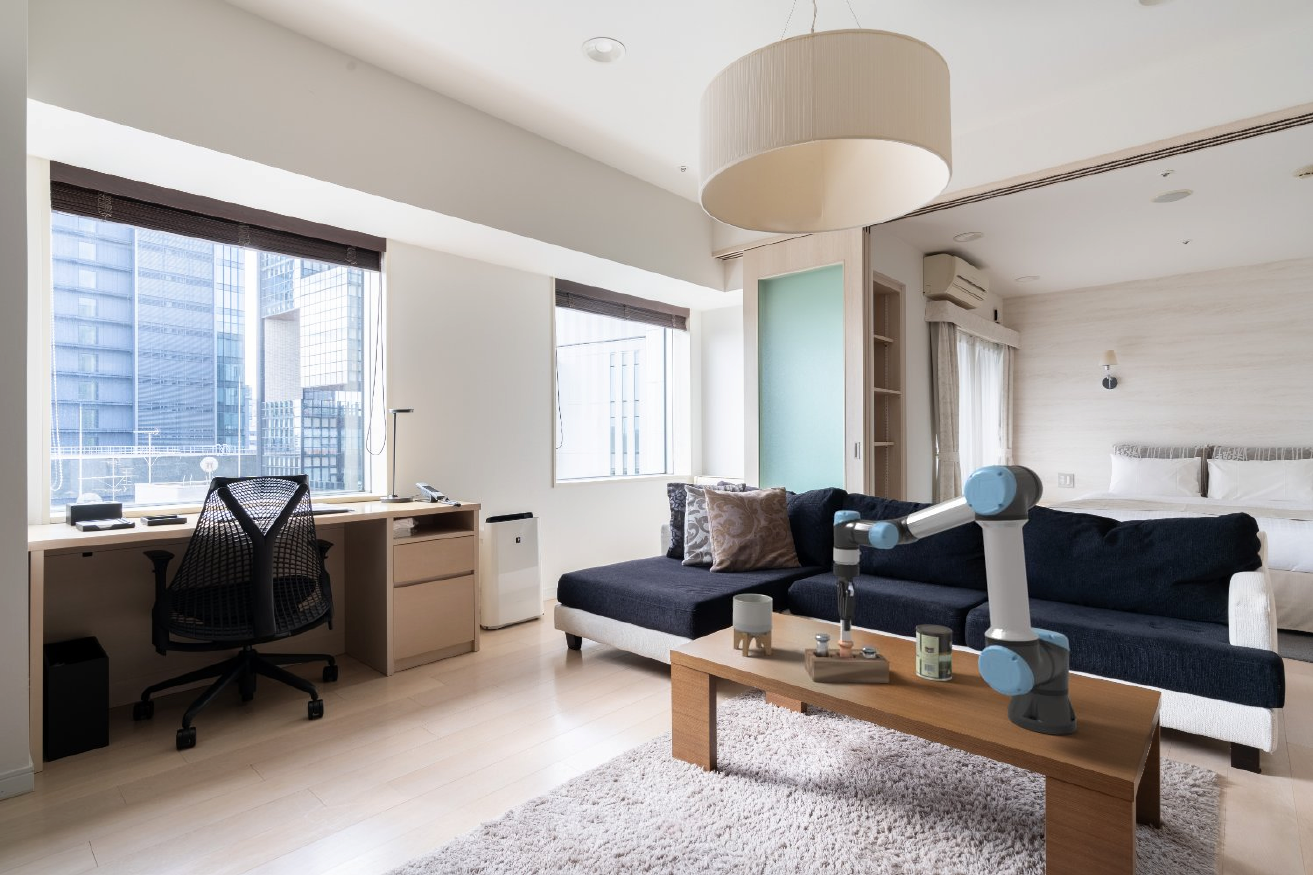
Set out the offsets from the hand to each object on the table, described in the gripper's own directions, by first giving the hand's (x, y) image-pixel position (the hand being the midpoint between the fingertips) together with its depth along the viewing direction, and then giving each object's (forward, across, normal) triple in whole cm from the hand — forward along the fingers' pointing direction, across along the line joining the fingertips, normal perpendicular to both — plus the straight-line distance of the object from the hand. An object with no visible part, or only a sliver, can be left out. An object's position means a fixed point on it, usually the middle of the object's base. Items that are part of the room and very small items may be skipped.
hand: (845, 640), depth 202 cm
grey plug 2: (+9, 0, -7) cm, 12 cm away
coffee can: (+11, +1, -27) cm, 29 cm away
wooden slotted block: (+10, 0, 0) cm, 10 cm away
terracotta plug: (+8, 0, 0) cm, 8 cm away
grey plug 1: (+6, 0, +7) cm, 9 cm away
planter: (+11, +22, +25) cm, 35 cm away
